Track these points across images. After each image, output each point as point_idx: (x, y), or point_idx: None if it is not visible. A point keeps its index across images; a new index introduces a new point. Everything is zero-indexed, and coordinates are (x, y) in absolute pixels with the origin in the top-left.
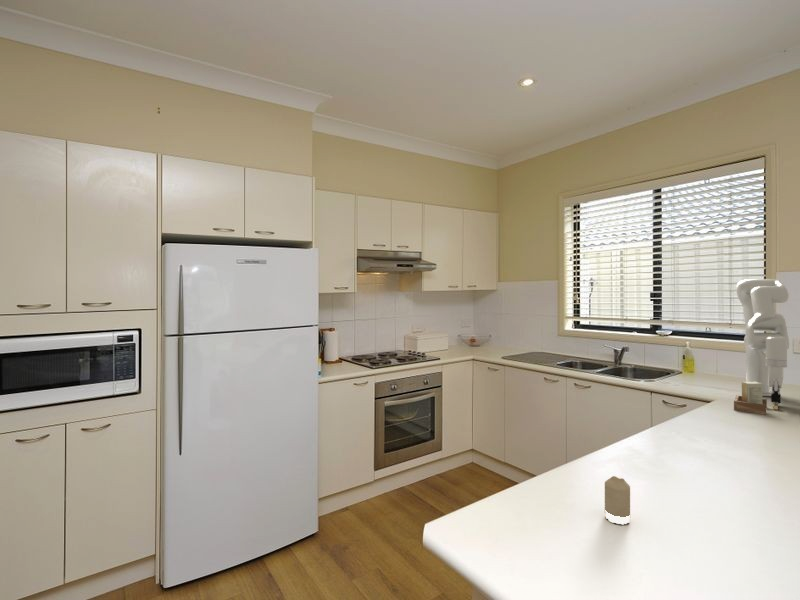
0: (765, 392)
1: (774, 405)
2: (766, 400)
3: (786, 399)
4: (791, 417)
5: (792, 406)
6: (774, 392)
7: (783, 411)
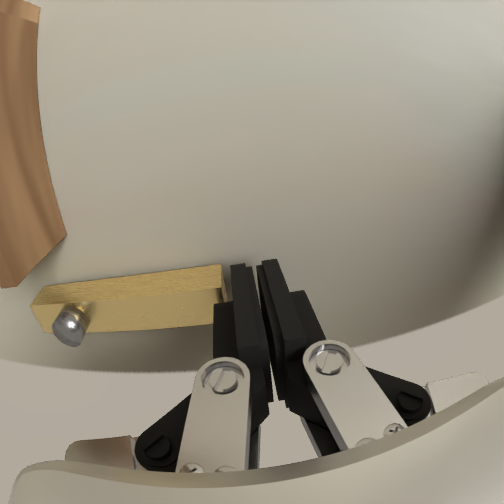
0: None
1: (43, 313)
2: (7, 279)
3: (487, 280)
4: (7, 355)
5: None
6: (177, 413)
7: None
